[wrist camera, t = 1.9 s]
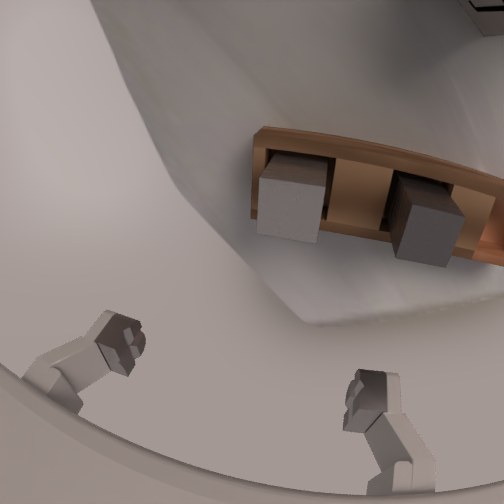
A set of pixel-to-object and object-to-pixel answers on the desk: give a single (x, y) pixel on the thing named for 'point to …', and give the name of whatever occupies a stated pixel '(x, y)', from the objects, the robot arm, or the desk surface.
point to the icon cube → (486, 15)
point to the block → (422, 219)
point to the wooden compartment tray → (377, 187)
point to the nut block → (292, 196)
